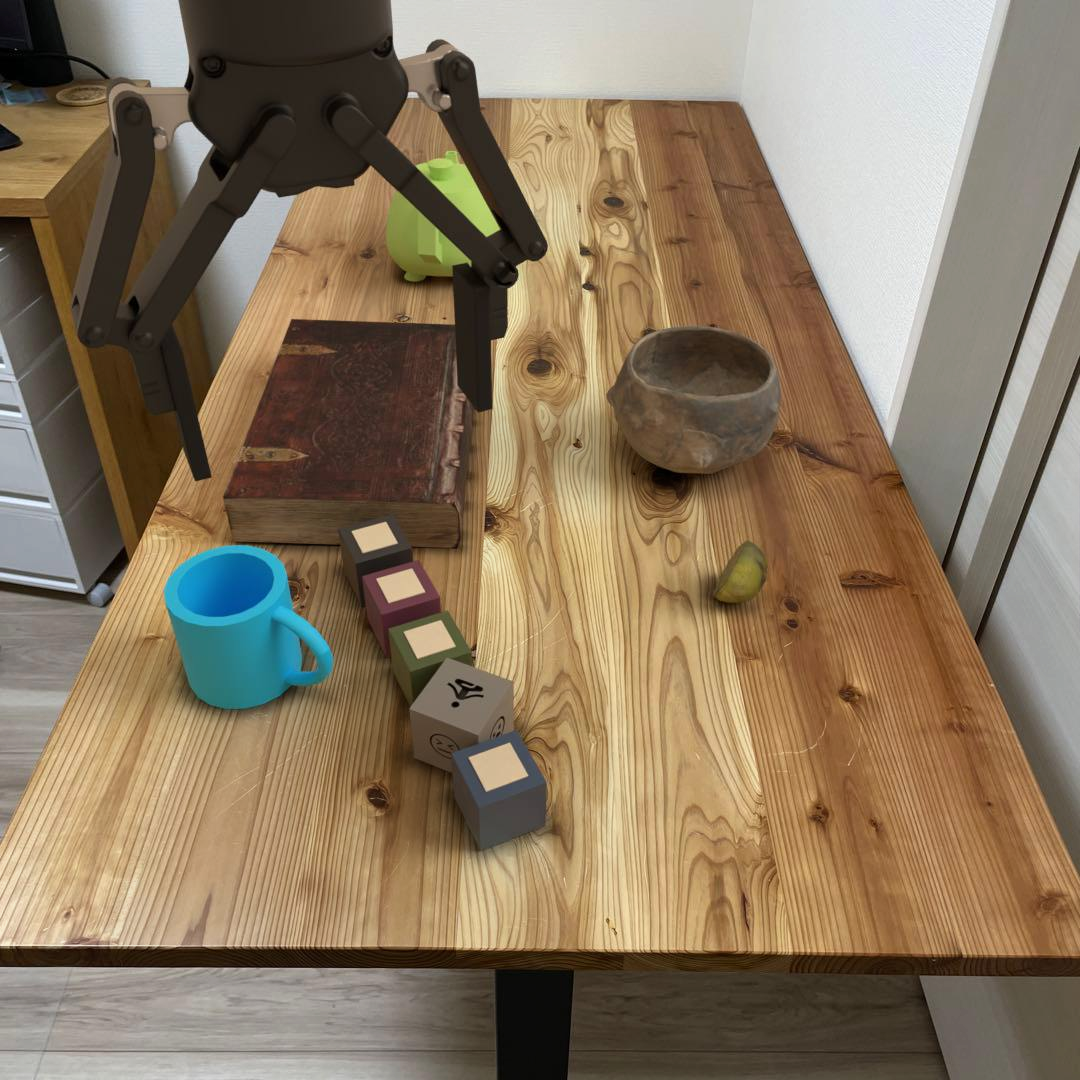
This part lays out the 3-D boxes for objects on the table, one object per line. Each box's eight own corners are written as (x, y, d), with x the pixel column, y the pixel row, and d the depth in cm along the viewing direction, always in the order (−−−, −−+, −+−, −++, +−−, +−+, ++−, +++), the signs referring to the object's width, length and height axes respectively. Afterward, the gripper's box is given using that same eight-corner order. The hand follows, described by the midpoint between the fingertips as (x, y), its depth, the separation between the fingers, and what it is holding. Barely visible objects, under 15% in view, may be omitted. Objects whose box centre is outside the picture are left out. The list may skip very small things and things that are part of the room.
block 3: (414, 715, 75) (409, 670, 72) (392, 672, 78) (387, 627, 75) (473, 695, 76) (472, 650, 73) (450, 653, 79) (447, 608, 76)
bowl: (580, 440, 100) (585, 346, 94) (708, 393, 107) (720, 303, 100) (672, 520, 91) (684, 422, 85) (805, 464, 98) (825, 369, 91)
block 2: (386, 658, 79) (380, 613, 76) (367, 619, 82) (361, 574, 79) (443, 640, 80) (440, 595, 77) (422, 602, 83) (418, 558, 80)
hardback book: (460, 548, 88) (458, 500, 85) (233, 544, 88) (222, 496, 85) (479, 365, 110) (478, 321, 107) (298, 362, 110) (291, 318, 107)
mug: (164, 686, 76) (137, 603, 71) (234, 614, 82) (215, 532, 77) (304, 743, 73) (287, 660, 67) (368, 663, 78) (357, 581, 73)
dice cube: (514, 730, 74) (513, 681, 70) (480, 784, 70) (478, 735, 67) (450, 706, 75) (446, 657, 72) (414, 757, 72) (409, 708, 68)
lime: (717, 619, 82) (726, 570, 79) (697, 577, 86) (704, 530, 83) (772, 611, 83) (782, 563, 80) (750, 570, 87) (759, 522, 83)
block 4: (480, 851, 66) (478, 807, 63) (453, 796, 69) (450, 751, 66) (545, 825, 68) (547, 781, 65) (516, 773, 71) (516, 728, 68)
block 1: (361, 607, 83) (355, 562, 80) (343, 571, 86) (337, 527, 83) (415, 590, 84) (412, 546, 81) (397, 556, 87) (392, 512, 84)
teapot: (405, 227, 136) (398, 127, 128) (510, 233, 135) (510, 132, 127) (372, 301, 121) (361, 193, 112) (490, 308, 120) (488, 199, 112)
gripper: (553, -120, 44) (545, 339, 57) (-123, -74, 36) (56, 449, 49) (643, -86, 39) (611, 409, 52) (-124, -22, 30) (76, 545, 44)
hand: (342, 429), depth 51 cm, fingers open, 13 cm apart
